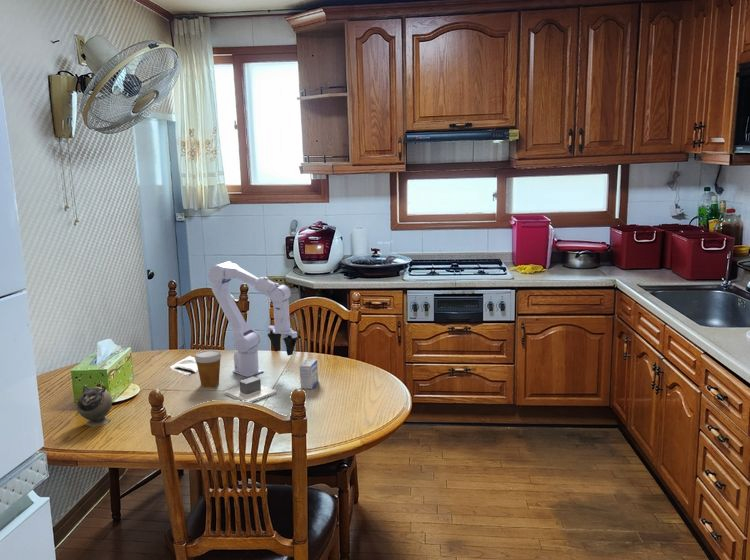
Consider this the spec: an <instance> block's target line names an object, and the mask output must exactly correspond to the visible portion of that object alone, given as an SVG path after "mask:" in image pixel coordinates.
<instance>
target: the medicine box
mask: <svg viewBox="0 0 750 560" xmlns="http://www.w3.org/2000/svg"><path fill="white" fill-rule="evenodd" d="M318 364H319V363H318V359H314V358H313V359H308V358H307V359H306V360H304V361H303V362H302V364H300V366H299V380H300V381H299V382H300V389H303V388H304V390H305V389H306V390H313V389H314V387H315V385H316V384H317V383H319V372H318V371H319V367H318V366H319V365H318Z"/></svg>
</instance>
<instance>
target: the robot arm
mask: <svg viewBox="0 0 750 560" xmlns="http://www.w3.org/2000/svg"><path fill="white" fill-rule="evenodd" d="M208 270H209V271H208V273H207V277H208V279H209V281H210V286H211V292H212V293H213V295H214V297H215V298H216V301H217V302H218V305H219V307H220V308H221V310H222V311H223V314H224V316H225V318H226V319H227V321H228V323H229V325H230V326H231V328H232V330H233V331H232V340H233V344H234V348H235V351H234V354H233V364H234V366H233V368H234V370H232V372H233V373H235V374H237V375H241V376H243V377H245V378H250V377H253V376H255V375H258V374H260V373H264V369H260V368H259V353H258V347H259V345H260V342H261V336H260V334H259V333H258V332H257V331H255V329H254V327H253V326H251V325H249V324H247V322H246V320H245V318H244V317H243V314H242V313H241V311H240V309H239V308H238V305H237V304H236V302H235V300H234V298H233V296H232V294H231V292H230V290H229V285H230V282H231V281H232V279H237V280H240V281H242V282H244V283H246V284H249V285H250V286H253V287H254V290H255V291H256V292H258V293H260V294H261V295H265V297H268V298H269V299H270V300H271V302H272V306H273V322H274V325H269V326H268V327H267V330H268V332H269V333H267V337H268V339H269V340H270V342H271V344H272V348H273V351H274V352H278V351H281V338H282V335H283V336H286V337H283V338H282V340H283V342H284V344H285V349H286V355H287V356H289V357H290V356H292V355H293V354H294V350H295V346H296V343H297V341H298V340H299V336H298V332H297V331H295V330H293V328H291V321H290V320H291V319H290V318H291V317H290V300H289V299H290V298H291V295H292V291H291V289H290V287H289V286H287V285H286V284H280V283H278V282H274V281H272V280H270V279H269V277H267V276H260V277H257V275H254V274H252V273H251V272H249V271H247V270H245V269H243V268H241V267H240V266H239V265H238V264H237V263H233V262H232V261H228V260H227V261H224V262H222V263H217V264H214V265H212V266H210V268H209V269H208Z"/></svg>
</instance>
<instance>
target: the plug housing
mask: <svg viewBox="0 0 750 560" xmlns="http://www.w3.org/2000/svg"><path fill="white" fill-rule="evenodd" d="M261 382H262V381H261V378H259V377H255V376H249V377H246V378H245V379H241V380H239V386H240V392H242V393H244V394H247V395H248V394H250V393H253V392H256V391H259V390H261V385H262V384H261Z"/></svg>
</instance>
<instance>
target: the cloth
mask: <svg viewBox="0 0 750 560" xmlns="http://www.w3.org/2000/svg"><path fill="white" fill-rule="evenodd" d="M169 368H170V369H171V370H172V371H175V372H176V373H179V374H180V375H184V376H185V377H188V378H190V375H192V373H193V372H194V373H195V374H197V372H198V367H197V363H196V360H195V357H193V356H191V355H188V356H186V357H184V359H181V360H180V361H177V362H175V364H173V365H171V366H169Z"/></svg>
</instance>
